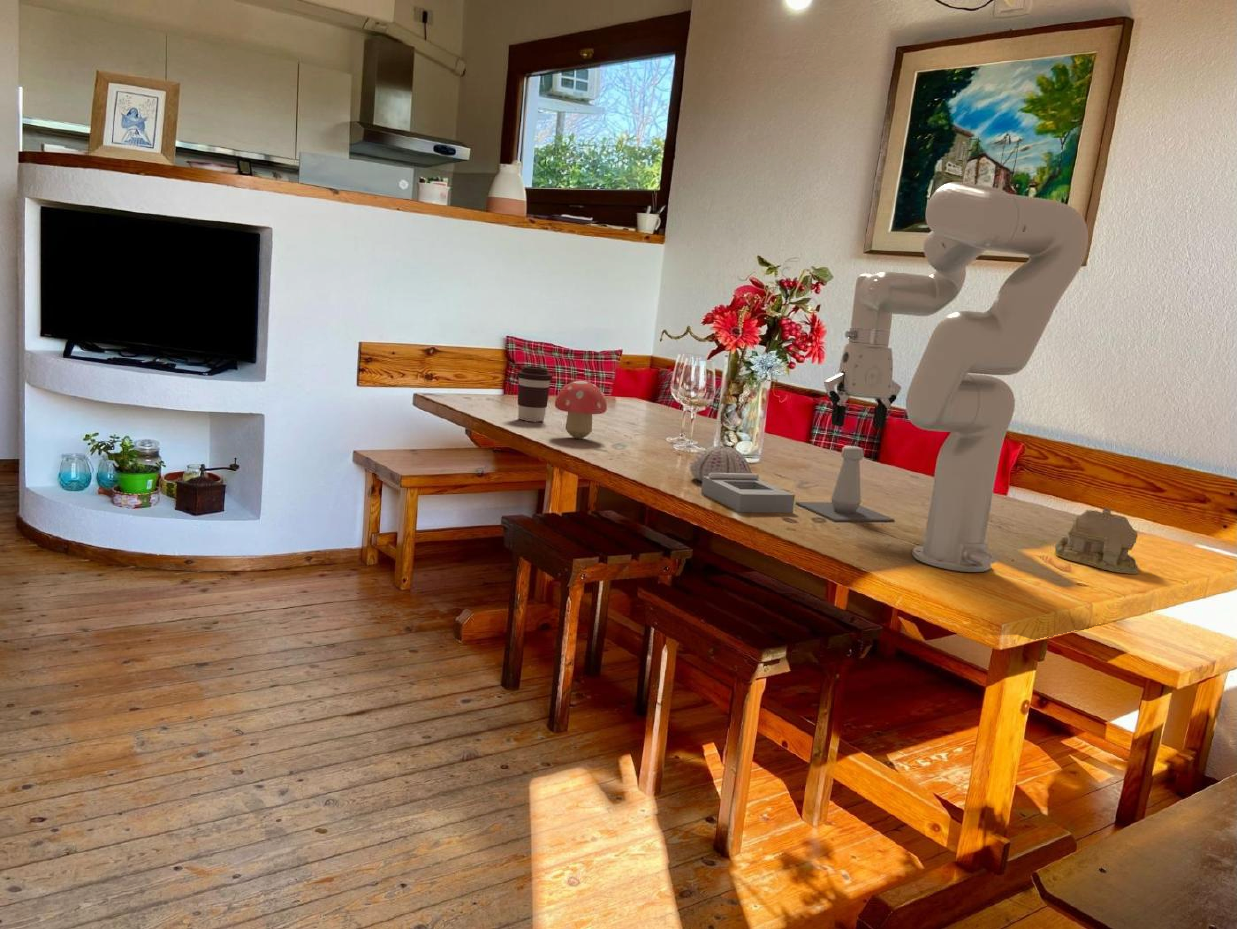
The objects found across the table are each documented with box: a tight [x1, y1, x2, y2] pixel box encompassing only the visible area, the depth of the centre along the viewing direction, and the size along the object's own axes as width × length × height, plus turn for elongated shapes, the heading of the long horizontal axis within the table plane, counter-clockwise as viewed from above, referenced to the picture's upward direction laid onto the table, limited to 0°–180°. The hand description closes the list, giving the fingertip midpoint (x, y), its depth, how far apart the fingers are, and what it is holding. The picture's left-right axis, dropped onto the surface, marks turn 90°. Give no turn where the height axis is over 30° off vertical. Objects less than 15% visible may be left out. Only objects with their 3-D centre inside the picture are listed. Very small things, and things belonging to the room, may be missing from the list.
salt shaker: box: [830, 445, 864, 513], centre depth 199 cm, size 6×6×13 cm
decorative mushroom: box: [554, 380, 608, 440], centre depth 258 cm, size 13×13×15 cm
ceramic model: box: [1054, 508, 1140, 575], centre depth 179 cm, size 14×11×10 cm
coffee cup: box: [516, 365, 553, 422], centre depth 281 cm, size 10×10×15 cm
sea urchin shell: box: [689, 445, 753, 482], centre depth 219 cm, size 13×14×8 cm
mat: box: [794, 501, 896, 522], centre depth 200 cm, size 14×14×1 cm
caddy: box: [700, 473, 796, 513], centre depth 200 cm, size 16×12×5 cm
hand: (857, 426), depth 197 cm, fingers open, 9 cm apart
